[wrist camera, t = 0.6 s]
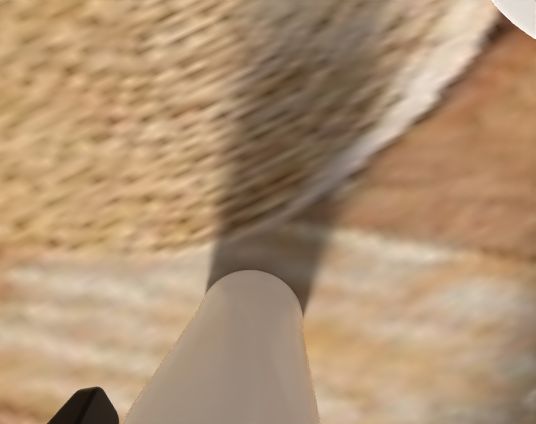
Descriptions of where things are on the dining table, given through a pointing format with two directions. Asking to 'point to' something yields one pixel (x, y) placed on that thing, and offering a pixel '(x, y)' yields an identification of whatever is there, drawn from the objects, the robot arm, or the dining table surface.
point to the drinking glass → (235, 361)
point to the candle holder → (520, 13)
